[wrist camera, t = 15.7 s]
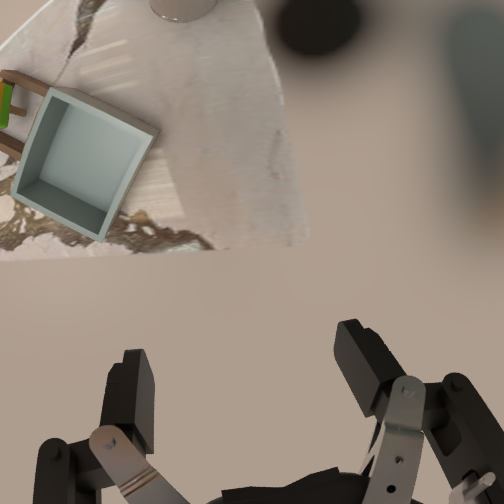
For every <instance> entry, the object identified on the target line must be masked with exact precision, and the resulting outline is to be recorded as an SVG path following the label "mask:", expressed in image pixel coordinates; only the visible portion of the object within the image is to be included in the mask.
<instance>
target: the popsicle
mask: <svg viewBox="0 0 504 504" xmlns="http://www.w3.org/2000/svg"><path fill="white" fill-rule="evenodd" d="M12 89H13V87H12V86H10V85H7V84H5V83H3V82H0V129H2V128H6V127H7V126H8V120H9V113H12V114H15V115H19V116H25V115H26V110H24V109H21V108H18V107H15V106H12V105H10V103H11V95H12Z"/></svg>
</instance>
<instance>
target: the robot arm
mask: <svg viewBox="0 0 504 504" xmlns="http://www.w3.org/2000/svg"><path fill="white" fill-rule="evenodd" d="M148 2H149V4H150V7H151V9H152V10H153V12H154V13H155V14H157V15H158V16H159V17H161V18H162V19H164V20H167V21H170V22H177V23H179V22H189V21H193V20H196V19H199V18H201V17H203V16H204V15H206V14H207V13H208V12H209V11H211V10H212V8H213V7H214V6H215V4H216V2H217V0H148ZM334 356H335V360H336V361H337V364H338V366H339V368H340V370H341V371H342V373H343V375H344V377H345V379H346V381H347V383H348V385H349V387H350V389H351V391H352V393H353V394H354V396H355V398H356V400H357V402H358V404H359V406H360V408H361V410H362V412H363V414H364V415H365V417H370V416H373V415H375V417H376V419H377V420H376V423H375V426H374V430H373V433H372V436H371V440H370V443H369V446H368V450H367V453H366V456H365V459H364V461H363V463H362V466H361V468H360V470H359V472H358V474H356V473H346V472H341V473H340V472H339V470H338V467H334V468H331V469H328V470H324V471H320V472H317V473H313V474H310V475H308V476H306V477H304V478H302V479H300V480H298V481H296V482H294V483H292V484H289V485H287V486H285V487H275V488H274V487H252V486H250V487H244V488H237V489H229V490H222V497H219V498H217V499H214V500H212V501H210V502H209V503H207V504H423V503H420V502H418V501H416V500H414V499H412V494H413V491H414V486H415V482H416V478H417V473H418V468H419V464H420V459H421V453H422V448H423V442H424V434H425V436H426V438H427V439H428V441H429V443H430V445H431V447H432V449H433V451H434V453H435V455H436V457H437V459H438V461H439V463H440V465H441V467H442V469H443V471H444V474H445V476H446V478H447V480H448V482H449V484H450V486H451V488H452V491H451V493H450V495H449V504H504V431H503V430H502V428H501V427H500V425H499V423H498V422H497V420H496V419H495V417H494V416H493V414H492V413H491V411H490V410H489V408H488V407H487V405H486V404H485V402H484V401H483V399H482V398H481V396H480V395H479V393H478V392H477V390H476V389H475V388H474V386H473V385H472V383H471V382H470V380H469V379H468V378H467V377H466V376H464V375H463V374H460V373H450V374H448V375H446V376H445V377H444V379H443V381H442V382H438V383H423V382H422V381H421V380H419V379H418V378H416V377H414V376H408V375H407V374H406V373H405V372H404V370H403V369H402V367H401V366H400V365H399V363H398V361H397V360H396V359H395V357H394V356H393V354H392V353H391V351H389V349H388V347H387V346H386V344H384V342H383V340H382V339H381V337H380V336H379V335H378V334H377V333H376V332H374V331H373V330H371V329H370V328H365V329H364V328H363V326H362V325H361V324H360V322H359V321H358V320H357V319H351V320H346V321H341V322H339V323H338V326H337V332H336V338H335V344H334ZM106 384H107V385H106V388H105V394H104V400H103V406H102V413H101V420H100V425H99V428H97V429H95V430H94V431H93V432H92V434H91V436H90V438H88V439H86V440H83V441H79V442H75V443H71V444H67V443H66V442H65V441H63V440H61V439H59V438H51V439H48V440H46V441H45V442H44V443H43V444H42V445H41V447H40V449H39V452H38V458H37V466H36V473H35V483H34V493H33V504H101V489H102V488H106V487H110V486H114V485H117V487H118V488H119V489H120V492H121V494H122V495H123V497H124V498H125V499H126V501H127V502H128V503H129V504H190V503H189V502H188V501H187V500H186V499H185V498H184V497H183V496H182V495H181V494H180V493H179V492H177V491H176V489H175V488H173V487H172V485H170V484H169V483H168V481H167V480H166V479H165V478H164V477H163V476H162V475H161V474H160V473H159V472H158V471H157V470H156V469H154V468H153V467H152V466H151V465H150V464H149V463H148V462H147V460H146V454H154V395H155V394H154V393H155V383H154V377H153V373H152V370H151V368H150V365H149V362H148V359H147V357H146V354H145V351H144V350H143V349H133V350H125V352H124V357H123V363H115V364H114V365H113V367H112V368H111V370H110V371H109V373H108V377H107V383H106ZM422 430H423V432H424V433H423V432H421V431H422Z"/></svg>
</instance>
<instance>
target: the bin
mask: <svg viewBox="0 0 504 504" xmlns="http://www.w3.org/2000/svg"><path fill="white" fill-rule="evenodd" d="M159 132H160V130H158V129H156V128H154V127H152V126H150V125H149V124H147V123H145V122H143V121H141V120H139V119H137V118H135V117H133V116H131V115H129V114H127V113H125V112H123V111H121V110H119V109H117V108H115V107H113V106H111V105H109V104H106V103H104V102H102V101H100V100H98V99H96V98H94V97H92V96H90V95H88V94H85V93H83V92H81V91H79V90H77V89H75V88H62V87H50V88H49V90H48V92H47V94H46V97H45V99H44V101H43V103H42V106H41V108H40V110H39V112H38V115H37V117H36V120H35V122H34V125H33V127H32V130H31V132H30V135H29V138H28V140H27V143H26V146H25V149H24V152H23V155H22V157H21V161H20V164H19V167H18V170H17V173H16V177H15V180H14V183H13V187H12V191H11V194H10V196H12V197H13V198H15V199H17V200H19V201H21V202H22V203H24V204H26V205H28V206H30V207H32V208H34V209H35V210H37V211H39V212H41V213H43V214H45V215H47V216H49V217H50V218H52V219H54V220H56V221H58V222H60V223H62V224H64V225H66V226H68V227H70V228H72V229H74V230H76V231H78V232H80V233H82V234H84V235H86V236H88V237H90V238H92V239H94V240H96V241H98V242H100V243H102V242H103V240H104V239H105V237H106V235H107V233H108V231H109V230H110V228H111V226H112V224H113V223H114V221H115V219H116V217H117V215H118V212H119V210H120V208H121V206H122V204H123V202H124V200H125V197H126V195H127V193H128V191H129V189H130V187H131V185H132V183H133V181H134V179H135V177H136V175H137V173H138V171H139V169H140V167H141V165H142V164H143V162H144V160H145V158H146V156H147V154H148V152H149V150H150V149H151V147H152V145H153V143H154V141H155V140H156V138H157V136H158V134H159Z"/></svg>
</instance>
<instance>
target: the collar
mask: <svg viewBox="0 0 504 504" xmlns="http://www.w3.org/2000/svg"><path fill="white" fill-rule="evenodd" d="M0 82H3V83H5V84H7V85H10V86H12V87H14V85H15V84H17V85H19V86H22V87H24V88H26V89H28V90H31V91H33V92H35V93H37V94H39V95H42V96H44V99H45V97H46V94H47V92H48V90H49V88H50V87H52V86H50V85H48V84H45V83H43V82H41V81H39V80H36V79H34V78H32V77H29V76H27V75H25V74H22V73H20V72H18V71H14V70H1V72H0ZM44 99H43V101H44ZM43 101H42V103H43ZM42 103H41V106H42ZM41 106H40V108H41ZM40 108H39V110H40ZM39 110H38V112H39ZM37 115H38V113H37ZM37 115H36V117H37ZM36 117H35V120H36ZM35 120H34V122H35ZM34 122H33V125H34ZM33 125H32V127H33ZM32 127H31V130H32ZM31 130H30V132H31ZM29 135H30V133H29ZM29 135H28V138H29ZM28 138H27V140H28ZM26 143H27V141H26ZM26 143H25V144H24V143H22V142H20V141H18V140H16V139H14V138H12V137H11V136H9V135H7V134H5V133H3V132H1V131H0V151H2V152H4V153H6V154H8V155H9V156H11V157H13V158H15V159H17V160H19V161H21V157H22V155H23V152H24V149H25V146H26Z"/></svg>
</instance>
